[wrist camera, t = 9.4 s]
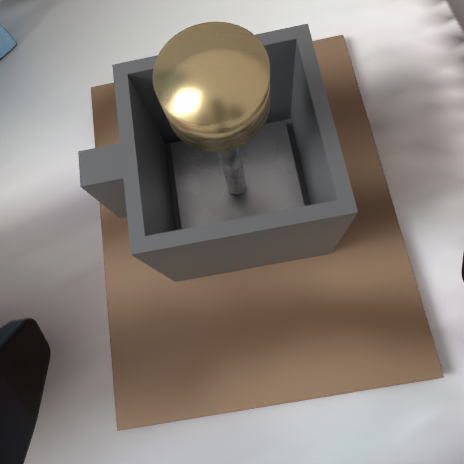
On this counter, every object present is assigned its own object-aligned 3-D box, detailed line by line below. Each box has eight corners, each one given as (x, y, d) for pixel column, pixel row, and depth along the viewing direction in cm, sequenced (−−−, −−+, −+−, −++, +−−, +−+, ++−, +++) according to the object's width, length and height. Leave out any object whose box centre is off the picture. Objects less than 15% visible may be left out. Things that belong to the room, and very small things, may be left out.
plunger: (309, 234, 20) (340, 143, 11) (187, 256, 21) (117, 187, 11) (284, 124, 22) (292, -33, 13) (172, 147, 23) (100, 9, 13)
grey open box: (331, 253, 21) (358, 212, 14) (139, 288, 22) (78, 264, 15) (297, 115, 23) (307, 23, 17) (125, 149, 24) (67, 74, 17)
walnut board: (438, 376, 20) (444, 377, 19) (121, 428, 20) (117, 430, 20) (341, 41, 25) (342, 34, 25) (94, 93, 26) (91, 87, 25)
